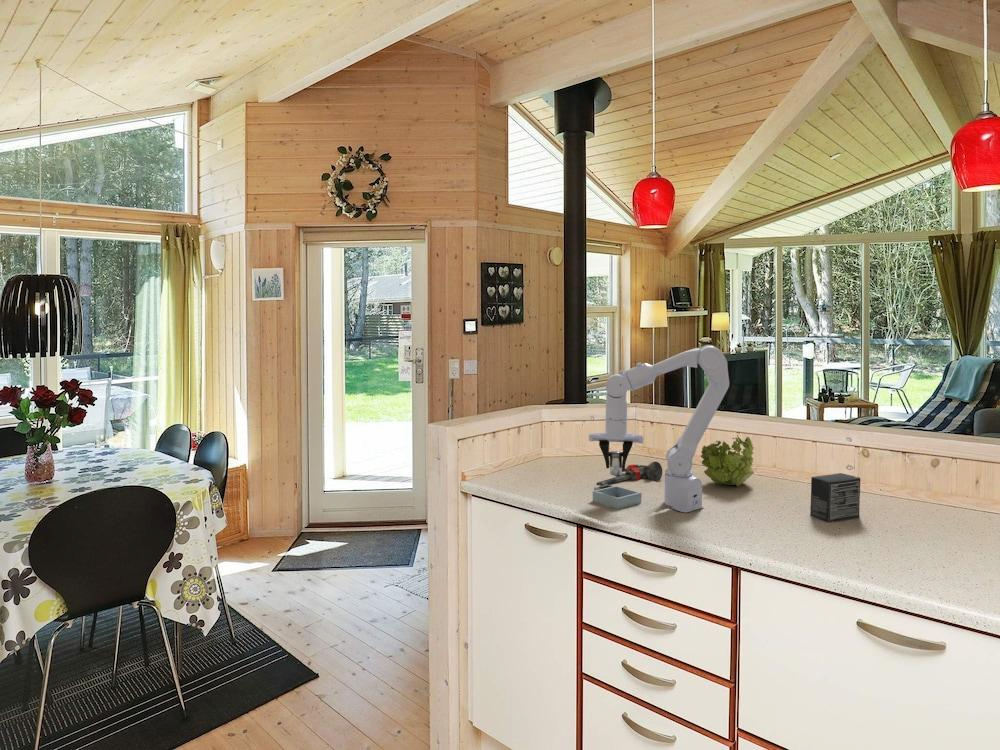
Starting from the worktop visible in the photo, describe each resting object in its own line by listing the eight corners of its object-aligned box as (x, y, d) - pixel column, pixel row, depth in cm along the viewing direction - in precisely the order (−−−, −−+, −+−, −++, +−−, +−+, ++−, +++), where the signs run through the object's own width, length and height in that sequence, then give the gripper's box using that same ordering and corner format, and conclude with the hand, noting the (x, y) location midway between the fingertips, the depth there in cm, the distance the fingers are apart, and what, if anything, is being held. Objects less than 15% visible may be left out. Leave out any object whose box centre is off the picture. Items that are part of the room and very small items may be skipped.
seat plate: (623, 495, 193) (623, 488, 193) (608, 499, 190) (608, 492, 189) (607, 490, 198) (607, 484, 198) (593, 494, 194) (593, 487, 194)
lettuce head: (762, 479, 192) (718, 441, 194) (725, 507, 202) (683, 471, 203) (772, 447, 206) (731, 412, 208) (737, 475, 216) (698, 441, 217)
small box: (839, 511, 178) (841, 471, 177) (860, 518, 172) (862, 477, 171) (808, 515, 174) (810, 475, 173) (828, 523, 168) (830, 481, 167)
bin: (641, 505, 184) (641, 492, 183) (617, 511, 178) (617, 498, 178) (616, 497, 191) (616, 485, 191) (592, 503, 185) (592, 491, 185)
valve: (635, 475, 225) (671, 478, 213) (578, 492, 209) (614, 496, 197) (633, 456, 225) (669, 457, 212) (576, 471, 209) (611, 474, 197)
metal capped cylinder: (625, 474, 185) (625, 452, 185) (616, 476, 183) (616, 454, 183) (614, 472, 188) (614, 450, 188) (606, 474, 186) (605, 452, 186)
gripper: (644, 417, 186) (643, 465, 188) (591, 415, 190) (590, 463, 191) (643, 421, 179) (642, 471, 181) (588, 419, 183) (587, 469, 184)
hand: (615, 468), depth 185 cm, fingers closed on metal capped cylinder, 4 cm apart
